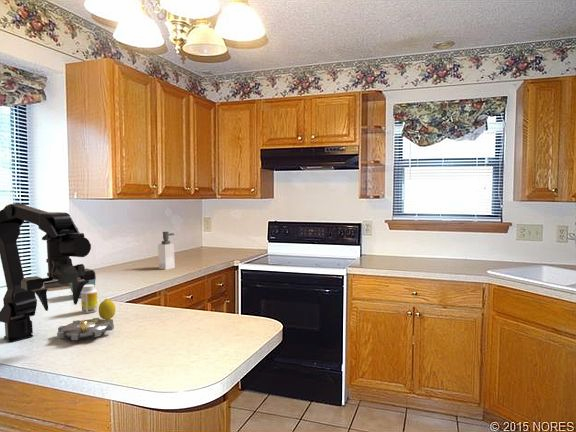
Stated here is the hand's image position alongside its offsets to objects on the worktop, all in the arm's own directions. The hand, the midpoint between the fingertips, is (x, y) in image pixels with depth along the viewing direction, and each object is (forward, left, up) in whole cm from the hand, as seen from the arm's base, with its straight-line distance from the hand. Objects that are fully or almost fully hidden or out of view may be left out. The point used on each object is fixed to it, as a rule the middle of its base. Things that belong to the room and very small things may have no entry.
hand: (61, 307), depth 121 cm
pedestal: (+9, +5, -12) cm, 16 cm away
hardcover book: (+30, +90, -13) cm, 96 cm away
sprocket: (+9, +5, -10) cm, 15 cm away
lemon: (+20, +14, -12) cm, 27 cm away
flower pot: (+29, +57, -12) cm, 65 cm away
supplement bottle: (+21, +31, -12) cm, 39 cm away
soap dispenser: (+90, +85, -12) cm, 124 cm away
